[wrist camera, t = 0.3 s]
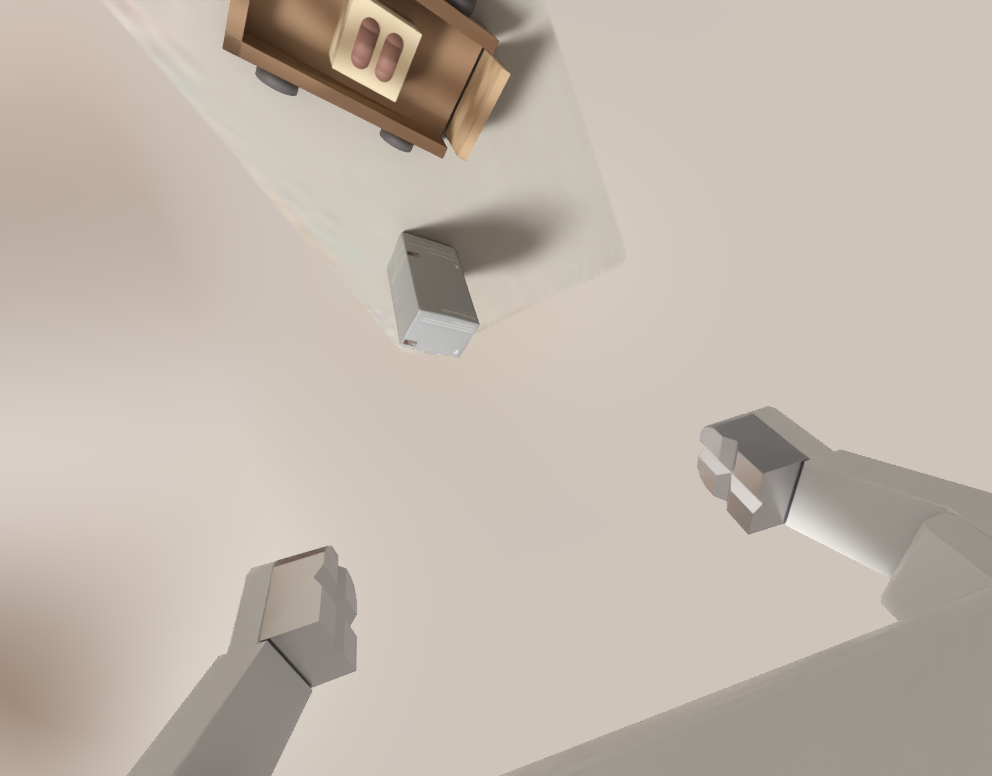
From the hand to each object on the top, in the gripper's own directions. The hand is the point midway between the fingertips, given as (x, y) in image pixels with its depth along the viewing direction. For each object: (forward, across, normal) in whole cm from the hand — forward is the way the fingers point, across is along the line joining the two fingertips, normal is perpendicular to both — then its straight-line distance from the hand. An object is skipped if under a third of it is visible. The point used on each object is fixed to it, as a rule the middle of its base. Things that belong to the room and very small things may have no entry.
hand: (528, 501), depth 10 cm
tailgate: (+51, -10, -6) cm, 53 cm away
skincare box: (+58, 0, +12) cm, 59 cm away
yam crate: (+48, -2, -12) cm, 50 cm away
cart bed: (+50, -1, -13) cm, 51 cm away
